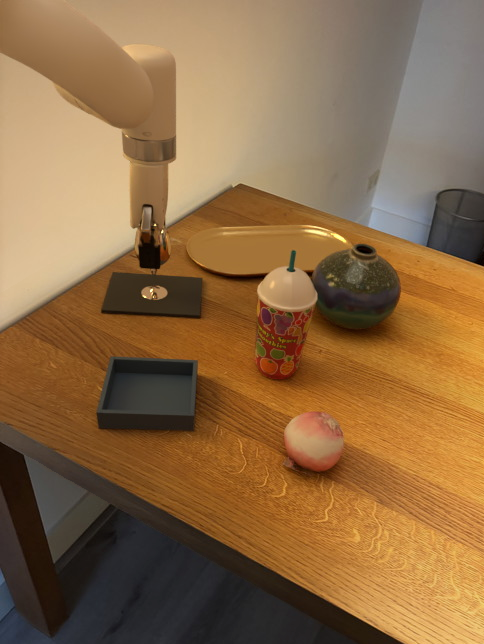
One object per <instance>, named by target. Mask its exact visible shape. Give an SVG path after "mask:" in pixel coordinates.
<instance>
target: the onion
mask: <svg viewBox="0 0 484 644" xmlns="http://www.w3.org/2000/svg"><path fill="white" fill-rule="evenodd" d="M344 437H345V436H344V431H343V429H342V427H341V425H340V423H339V421H338V420H337V419H335V418H334V417H333V416H332V415H331V414H329V413H327V412H326V411H315V410H313V411H306V412H304V413H300V414H299V415H296V416H295V417H294V418H292V419H291V420H290V421H289V422H288V424H286V426H285V428H284V431H283V443H284V447H285V450H286V455H287V457H286V458H285V460H284V461H283V462H282V466H284V467H287V468H290V469H292V470H293V471H296V472H299V474H300V473H301V474H305V475H307V476H309V477H312V474H310V473H308V472H309V471H310V472H317V473H318V472H319V473H320V472H325V471H329V470H330V469H331V468H333V467H334V466H335V465H336V464H337V463H338V462H339V460H340V458H341V457H342V455H343V452H344V449H345V438H344ZM296 465H298V466H300V467H302V468H303V469H305V470H307V471H301V470H298V469H297V468H298V467H297V466H296Z"/></svg>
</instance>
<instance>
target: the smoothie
mask: <svg viewBox="0 0 484 644" xmlns="http://www.w3.org/2000/svg"><path fill="white" fill-rule="evenodd" d="M295 256H296V251H295V250H292V251H291V256H290V263H289V266H282V267H278V268H276V269H274V270H273V271H271V272H270V273H269V274H268V275H267V276H264V279H262V281H260V283H259V284H258V285H257V289H256V294H257V297H256V299H257V300H256V324H255V325H256V326H255V348H254V349H255V351H254V352H255V354H254V362H255V365H256V367H257V369H258V371H259V372H260V374H261V375H263V376H264V377H266V378H269V379H271V380H278V381H279V380H285V379H288V378H290V377H291V376H292V375H294V373H295V372H296V371H297V370H298V369H299V367H300V362H301V359H302V355H303V353H304V348H305V344H306V342H307V337H308V334H309V330H310V326H311V322H312V319H313V316H314V312H315V308H316V307H315V304H316V301H317V292H316V290H315V288H314V285H313V283H312V281H311V278H310V276H309V275H308V273H305V272H304V271H302V270H301V269H299V268H296V267H294V263H295Z"/></svg>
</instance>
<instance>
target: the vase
mask: <svg viewBox="0 0 484 644" xmlns="http://www.w3.org/2000/svg"><path fill="white" fill-rule="evenodd" d="M311 274H312V275H311V278H310V279H311V281H312V283H313V285H314V288H315V290H316V292H317V301H316V304H315V308H316V310H317V312H318V313H319V314H320V316H321V317H323V318H324V319H325V320H327V322H329V323H331V324H333V325H335V326H337V327H339V328H343V329H347V330H358V331H360V330H367V329H372V328H374V327H377V326H380V324H382V323H383V322H385V321H386V320H387V319H388V318H390V317H391V315H392V314H393V313H394V311H395V310H396V308H397V307H398V304H399V301H400V299H401V295H402V294H401V293H402V285H401V280H400V277H399V274H398V273H397V271H396V269H395V267H394V266H393V265H391V263H390V262H388V260H387V259H385V258H384V257H382V256H380V255H379V254H378V251H377V248H375V247H374V246H372V245H370V244H367V243H366V244H365V243H355V244H353V247H352V249H345V250H340V251H337V252H334V253H332V254H330V255H328V256H326V257H325V258H324V259H322V260H321V261H320V262H319V264H318V265H317V266H316V268H315V270H314V272H313V273H311Z"/></svg>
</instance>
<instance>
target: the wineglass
mask: <svg viewBox="0 0 484 644" xmlns="http://www.w3.org/2000/svg"><path fill="white" fill-rule="evenodd" d="M151 225H152V226H156V223H151ZM139 226H140V224H139ZM139 226H138V228H136V232H135V237H134V252H135V256H136V258H137V260H138V261H139V248H138V244H139V230H140V227H139ZM154 232H155V231H151V235H153V237H154ZM158 245H160V260H161V266H163V265H165V264H166V263H167V262H168V261H169V260H170V258H171V253H172V244H171V238H170V234H169V230H168V227H167V226H165V225H164V226H163V228H162V229H161V230H159V237H158ZM157 271H158V269H150V274H152V277H153V286H147V287H145V288H144V289H143V290H142V291H141V294H142V296H143V297H145V298H146V299H150V300H160V299H163V298H165V297H166V296H167V294H168V292H167V290H166V289H165V288H163V287H161V286H156V281H155V277H156V275H157Z"/></svg>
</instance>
